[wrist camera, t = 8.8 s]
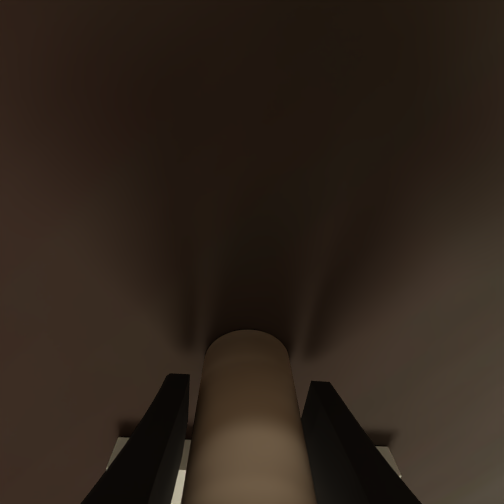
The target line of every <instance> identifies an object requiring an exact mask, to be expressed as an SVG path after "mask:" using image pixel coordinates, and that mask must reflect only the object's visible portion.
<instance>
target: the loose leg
mask: <svg viewBox="0 0 504 504" xmlns="http://www.w3.org/2000/svg"><path fill="white" fill-rule="evenodd" d="M181 504H317V500H316V495H315V490H314V484H313V479H312V474H311V469H310V464H309V459H308V453H307V448H306V443H305V438H304V433H303V427H302V422H301V417H300V412H299V407H298V402H297V396H296V391H295V386H294V381H293V376H292V370H291V365H290V360H289V355H288V352H287V350H286V348H285V347H284V345H283V344H282V343H281V342H280V341H279V340H278V339H277V338H275V337H274V336H272V335H270V334H268V333H265V332H262V331H257V330H238V331H233V332H230V333H227V334H225V335H223V336H221V337H220V338H218V339H217V340H215V341H214V342H213V343H212V344H211V345H210V347H209V348H208V350H207V352H206V354H205V358H204V364H203V370H202V377H201V383H200V389H199V395H198V401H197V407H196V413H195V419H194V425H193V432H192V438H191V444H190V450H189V456H188V462H187V468H186V474H185V480H184V487H183V493H182V499H181Z"/></svg>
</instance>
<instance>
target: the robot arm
mask: <svg viewBox="0 0 504 504" xmlns="http://www.w3.org/2000/svg"><path fill="white" fill-rule="evenodd" d="M189 381H190V375H189V374H171V373H170V374H169V375H167V376H166V378H165V380H164V382H163V384H162V386H161V388H160V390H159V392H158V393H157V395H156V397H155V399H154V400H153V402H152V404H151V405H150V407H149V409H148V410H147V412H146V413H145V415H144V417H143V418H142V420H141V421H140V423H139V424H138V426H137V427H136V429H135V430H134V432H133V433H132V435H131V436H130V438H129V439H128V441H127V442H126V444H125V445H124V447H123V448H122V449H121V451H120V452H119V454H118V455H117V456H116V458H115V459H114V460H113V462H112V463H111V464H110V466H109V467H108V469H107V470H106V471H105V473H104V474H103V475H102V477H101V478H100V479H99V481H98V482H97V483H96V485H95V486H94V487H93V489H92V490H91V491H90V492H89V494H88V495H87V496H86V498H85V499H84V500H83V501H82V503H81V504H171V501H172V497H173V493H174V489H175V485H176V480H177V476H178V472H179V468H180V464H181V460H182V455H183V449H184V442H185V436H186V429H187V422H188V406H189ZM301 422H302V427H303V433H304V438H305V443H306V448H307V453H308V459H309V464H310V469H311V474H312V479H313V484H314V490H315V495H316V500H317V504H422V503H421V502H420V501H419V500H418V499H417V498H416V496H415V495H414V494H413V493H412V492H411V490H410V489H409V488H408V487H407V486H406V484H405V483H404V482H403V481H402V479H401V478H400V477H399V476H398V475H397V473H396V472H395V471H394V470H393V468H392V467H391V466H390V465H389V463H388V462H387V461H386V459H385V458H384V457H383V456H382V454H381V453H380V452H379V450H378V449H377V448H376V446H375V445H374V444H373V442H372V441H371V440H370V438H369V437H368V436H367V434H366V433H365V432H364V430H363V429H362V427H361V426H360V425H359V423H358V422H357V420H356V419H355V418H354V416H353V415H352V413H351V412H350V411H349V409H348V408H347V406H346V405H345V403H344V402H343V400H342V399H341V398H340V396H339V395H338V393H337V392H336V390H335V389H334V387H333V386H332V385H331V383H330V382H321V381H311V384H310V387H309V391H308V395H307V399H306V403H305V406H304V410H303V414H302V418H301Z"/></svg>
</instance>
